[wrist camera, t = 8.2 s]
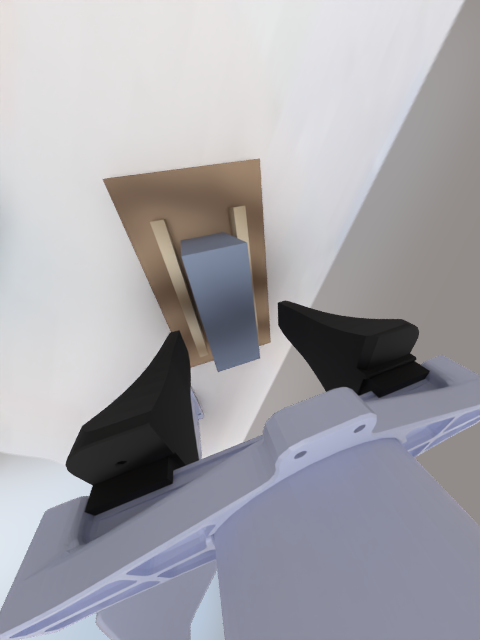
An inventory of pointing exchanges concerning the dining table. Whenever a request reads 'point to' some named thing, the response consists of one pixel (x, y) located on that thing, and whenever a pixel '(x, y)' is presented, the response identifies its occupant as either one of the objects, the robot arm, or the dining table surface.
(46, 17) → the dining table surface
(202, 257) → the slate blue book
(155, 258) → the shelf board
